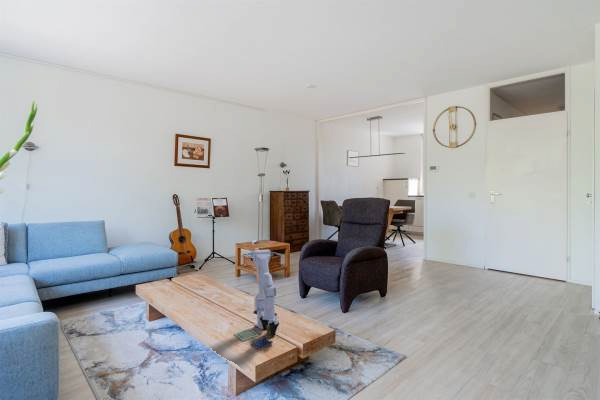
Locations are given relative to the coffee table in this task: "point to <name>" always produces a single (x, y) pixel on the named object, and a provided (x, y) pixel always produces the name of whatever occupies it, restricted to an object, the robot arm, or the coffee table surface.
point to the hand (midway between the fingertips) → (269, 332)
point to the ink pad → (261, 343)
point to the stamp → (268, 333)
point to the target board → (246, 334)
